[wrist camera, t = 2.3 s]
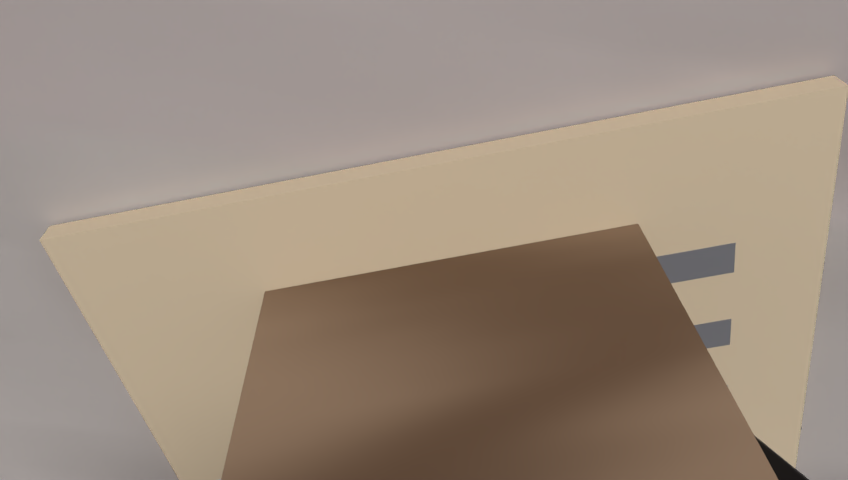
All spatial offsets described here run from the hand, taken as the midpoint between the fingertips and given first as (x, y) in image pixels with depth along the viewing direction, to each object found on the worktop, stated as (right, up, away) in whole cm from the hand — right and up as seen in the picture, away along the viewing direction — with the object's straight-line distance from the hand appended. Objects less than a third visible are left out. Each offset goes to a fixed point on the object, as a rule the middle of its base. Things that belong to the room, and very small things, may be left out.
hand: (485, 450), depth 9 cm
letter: (0, +1, +1) cm, 1 cm away
